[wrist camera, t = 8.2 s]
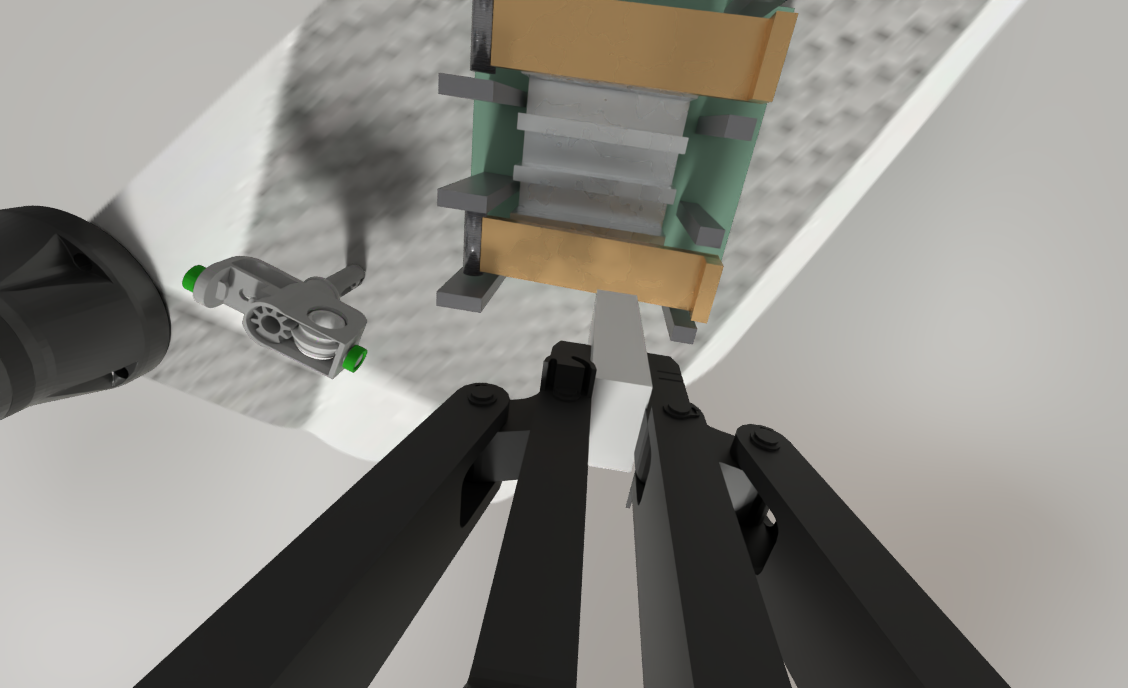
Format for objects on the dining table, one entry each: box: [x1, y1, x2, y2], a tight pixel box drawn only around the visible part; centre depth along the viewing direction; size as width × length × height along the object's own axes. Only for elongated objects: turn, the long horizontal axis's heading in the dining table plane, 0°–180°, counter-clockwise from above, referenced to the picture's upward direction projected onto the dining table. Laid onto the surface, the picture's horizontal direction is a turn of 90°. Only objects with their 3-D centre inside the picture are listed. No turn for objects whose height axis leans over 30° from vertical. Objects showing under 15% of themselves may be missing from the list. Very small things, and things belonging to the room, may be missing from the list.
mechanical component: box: [182, 256, 367, 379], centre depth 31 cm, size 3×10×10 cm, turn 61°
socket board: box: [471, 0, 795, 260], centre depth 29 cm, size 17×17×2 cm
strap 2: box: [463, 210, 724, 323], centre depth 24 cm, size 14×4×2 cm, turn 83°
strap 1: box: [470, 0, 798, 104], centre depth 20 cm, size 14×4×2 cm, turn 83°
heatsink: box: [510, 71, 698, 245], centre depth 27 cm, size 9×15×4 cm, turn 173°
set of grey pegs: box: [436, 0, 787, 344], centre depth 25 cm, size 14×16×8 cm
